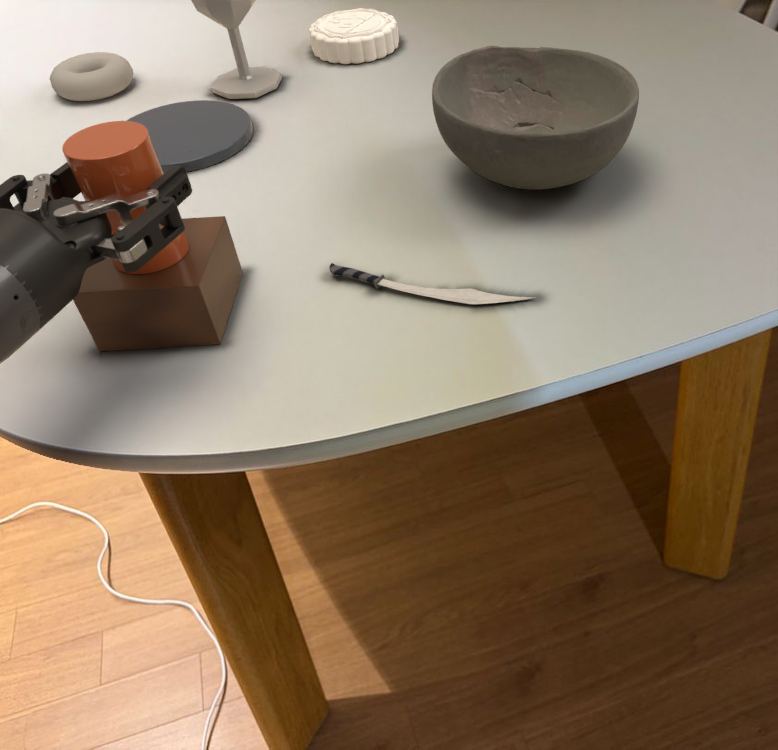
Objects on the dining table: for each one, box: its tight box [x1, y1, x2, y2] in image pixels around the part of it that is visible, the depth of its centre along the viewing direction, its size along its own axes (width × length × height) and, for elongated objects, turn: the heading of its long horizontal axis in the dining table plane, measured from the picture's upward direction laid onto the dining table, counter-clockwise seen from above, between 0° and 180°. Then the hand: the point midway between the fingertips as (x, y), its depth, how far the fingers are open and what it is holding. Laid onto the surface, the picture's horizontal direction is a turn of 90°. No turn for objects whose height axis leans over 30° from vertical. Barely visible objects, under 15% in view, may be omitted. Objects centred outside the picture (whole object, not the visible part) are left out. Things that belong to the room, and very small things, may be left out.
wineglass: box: [190, 0, 283, 100], centre depth 96 cm, size 9×9×21 cm
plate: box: [126, 99, 254, 173], centre depth 92 cm, size 16×16×1 cm
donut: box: [49, 51, 134, 102], centre depth 103 cm, size 10×4×10 cm
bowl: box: [431, 45, 640, 190], centre depth 81 cm, size 20×20×10 cm
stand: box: [72, 215, 244, 352], centre depth 67 cm, size 10×10×6 cm
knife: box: [329, 262, 537, 305], centre depth 70 cm, size 19×2×1 cm, turn 74°
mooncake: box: [308, 7, 400, 65], centre depth 110 cm, size 12×12×4 cm
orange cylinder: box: [61, 120, 189, 274], centre depth 62 cm, size 6×6×10 cm
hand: (137, 170), depth 62 cm, fingers open, 8 cm apart
